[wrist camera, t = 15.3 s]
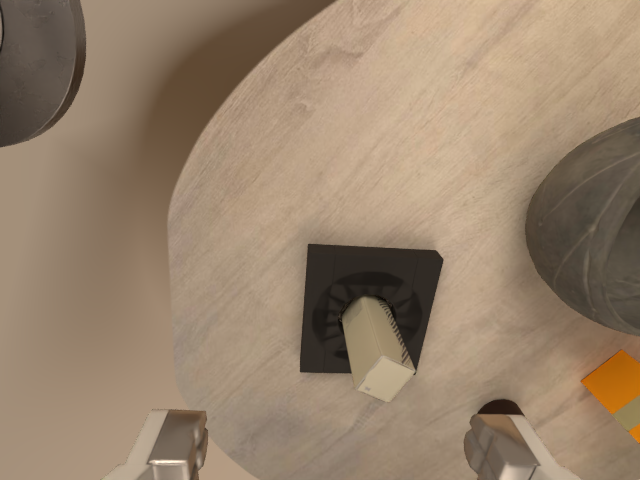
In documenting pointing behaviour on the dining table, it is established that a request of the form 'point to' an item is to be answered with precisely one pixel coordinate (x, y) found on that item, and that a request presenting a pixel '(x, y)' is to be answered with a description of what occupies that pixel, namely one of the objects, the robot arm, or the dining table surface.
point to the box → (375, 348)
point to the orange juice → (619, 390)
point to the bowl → (592, 228)
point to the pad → (359, 279)
